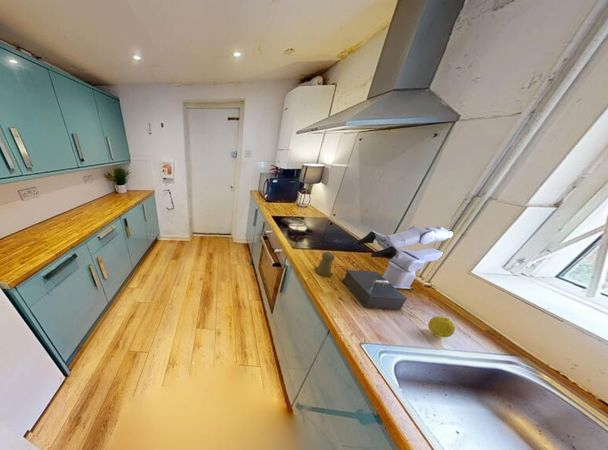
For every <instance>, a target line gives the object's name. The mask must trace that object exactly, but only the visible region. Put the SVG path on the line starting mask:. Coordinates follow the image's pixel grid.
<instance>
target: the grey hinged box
mask: <svg viewBox="0 0 608 450" xmlns="http://www.w3.org/2000/svg"><path fill="white" fill-rule="evenodd" d="M342 282H343V283H344V284H345V286H346V287H347V288H348V289H349V290H350V292H351V293H352V294H353V295H354V296H355V297H356V299H357V300H358V301H359V302H360V304H361V305H362V306H363V307H364V308H366V309H378V310H379V309H380V310H391V311H392V310H395V311H401V309H402V308H403V306H404V305H405V304H406V301H407V300H401V299H386V298H370V297H369V296H368V295H367V294H366V293H365V291H364V290H363V289H362V288H361V287H360V286H359V285H358V284H357V283H356V282H355V281H354V279H353V278H352V277H351V276H350V275H349V274H348V273H347V272H346V273H345V275H344V278H343V281H342Z"/></svg>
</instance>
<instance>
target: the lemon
mask: <svg viewBox="0 0 608 450" xmlns="http://www.w3.org/2000/svg"><path fill="white" fill-rule="evenodd" d="M427 326H428V327H427V328H428V330H429V331H430V332H431V333H432V334H433V335H434V336H436V337H440V338H449V337H451V336H453V335H454V334H455V331H456V325H455V324H454V322H453V321H452V320H451V319H449V318H448V317H445V316H440V315H439V316H438V315H437V316H434V317H432V318H430V320H429V321H428V324H427Z"/></svg>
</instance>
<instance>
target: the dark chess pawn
mask: <svg viewBox="0 0 608 450" xmlns="http://www.w3.org/2000/svg"><path fill="white" fill-rule="evenodd" d="M335 259H336V256H335V254H334V253H333V252H331V251H324V252H323V253H322V254H321V260H320V262H319V264H318V265H317V268H316V269H315V272H316V273H317V274H318V275H320V276H324V277H329V276H330V275H331V269H332V263H333V261H334V260H335Z"/></svg>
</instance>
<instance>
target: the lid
mask: <svg viewBox="0 0 608 450" xmlns="http://www.w3.org/2000/svg"><path fill="white" fill-rule="evenodd" d="M345 272H346V273H348V274H349V275H350V276H351V277H352V278H353V279H354V281H355V282H356V283H357V284H358V285H359V286H360V287H361V288H362V289H363V290H364V291H365V293H366V294H367V295H368V296H369V297H370V298H386V299H401V300H406V301H407V300H408V298H407V297H406V296H405V295H404V294H403V293H401V292H400V291H399V290H398V288H395V287H393V286H392V285H391V284H390V283H389V281H387V280H385V279H384V278H383V277H382V276H383V275H381V274H380V273H379V272H378V271H371V270H353V269H346V270H345Z"/></svg>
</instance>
